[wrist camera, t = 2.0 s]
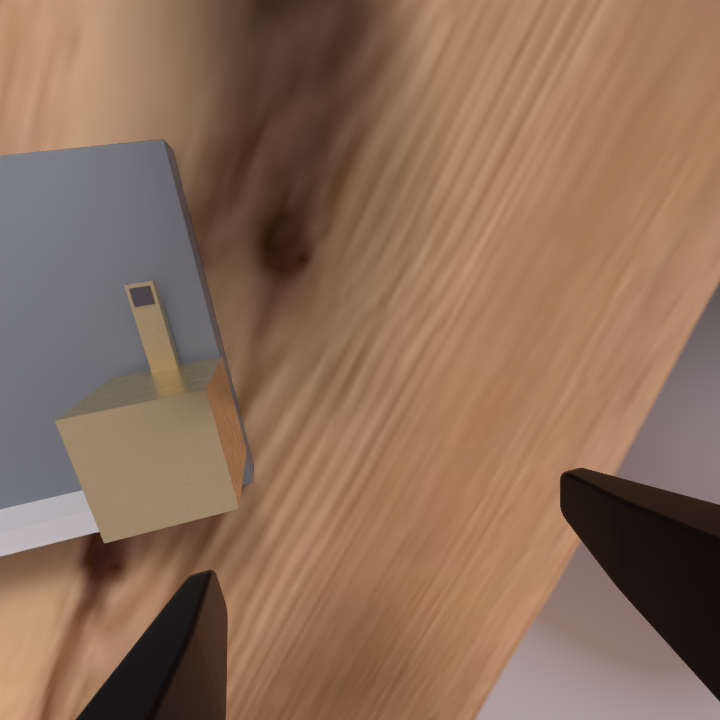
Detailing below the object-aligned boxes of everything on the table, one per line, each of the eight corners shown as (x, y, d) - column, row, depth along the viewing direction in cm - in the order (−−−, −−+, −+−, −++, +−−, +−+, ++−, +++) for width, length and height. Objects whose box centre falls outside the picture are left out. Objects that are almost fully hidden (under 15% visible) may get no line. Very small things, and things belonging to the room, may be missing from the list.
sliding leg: (200, 273, 16) (175, 278, 12) (246, 450, 18) (239, 509, 14) (81, 291, 15) (8, 305, 11) (144, 474, 17) (104, 543, 13)
